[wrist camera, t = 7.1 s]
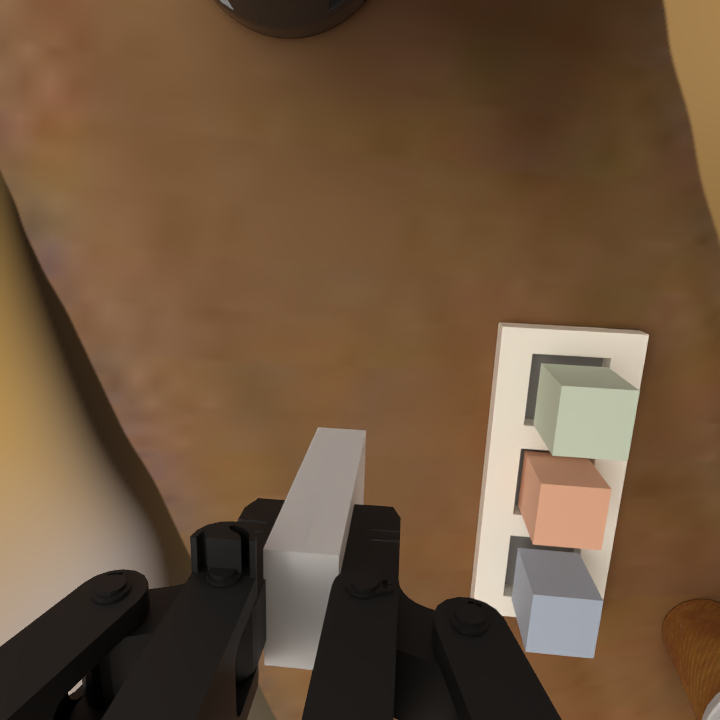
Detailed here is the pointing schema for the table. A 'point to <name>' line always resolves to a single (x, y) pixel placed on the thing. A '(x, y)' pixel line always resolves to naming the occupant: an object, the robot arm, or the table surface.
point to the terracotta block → (563, 501)
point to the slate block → (556, 603)
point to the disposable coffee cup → (696, 653)
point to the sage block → (585, 411)
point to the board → (539, 445)
